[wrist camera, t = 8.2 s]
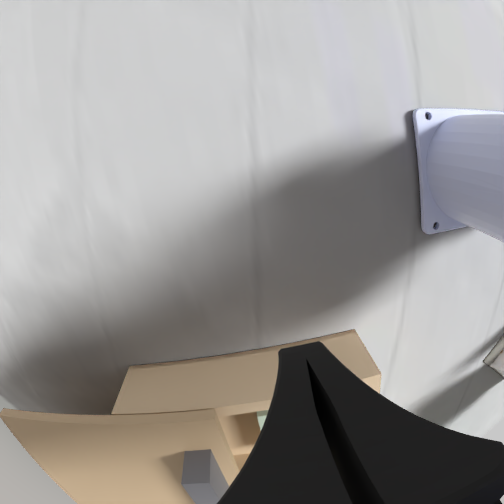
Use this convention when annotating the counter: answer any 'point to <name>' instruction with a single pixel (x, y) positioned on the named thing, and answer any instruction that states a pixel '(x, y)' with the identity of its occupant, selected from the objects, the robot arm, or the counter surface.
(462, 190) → the robot arm
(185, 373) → the box
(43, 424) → the lid
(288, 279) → the counter surface
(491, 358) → the skyscraper
